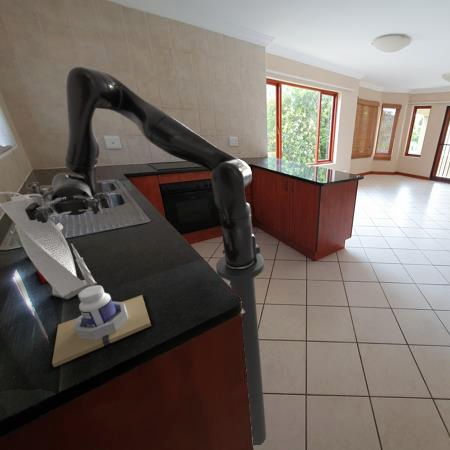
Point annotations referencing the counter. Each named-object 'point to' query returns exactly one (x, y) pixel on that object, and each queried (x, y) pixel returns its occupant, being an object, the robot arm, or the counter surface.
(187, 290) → the counter surface
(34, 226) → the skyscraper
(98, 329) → the pad dock
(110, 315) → the pill bottle
